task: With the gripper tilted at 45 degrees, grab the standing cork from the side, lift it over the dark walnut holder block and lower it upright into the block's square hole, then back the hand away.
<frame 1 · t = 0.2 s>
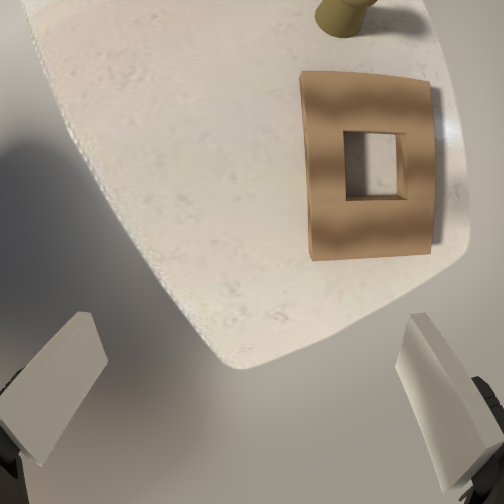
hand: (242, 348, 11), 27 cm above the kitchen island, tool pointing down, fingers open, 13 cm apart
cork: (337, 19, 28), on the kitchen island
walnut holder: (368, 164, 34), on the kitchen island
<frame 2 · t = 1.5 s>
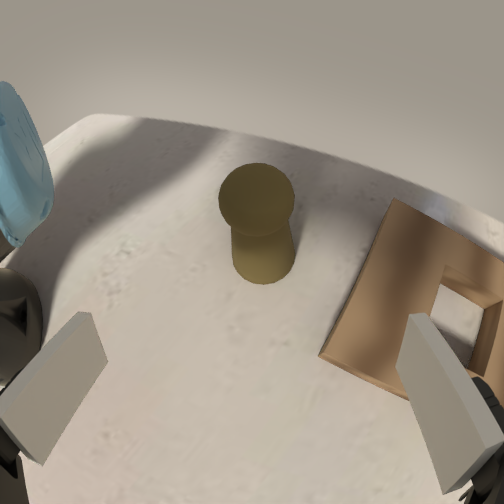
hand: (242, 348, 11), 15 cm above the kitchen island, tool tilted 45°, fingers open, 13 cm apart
cork: (263, 255, 29), on the kitchen island
walnut holder: (448, 328, 24), on the kitchen island
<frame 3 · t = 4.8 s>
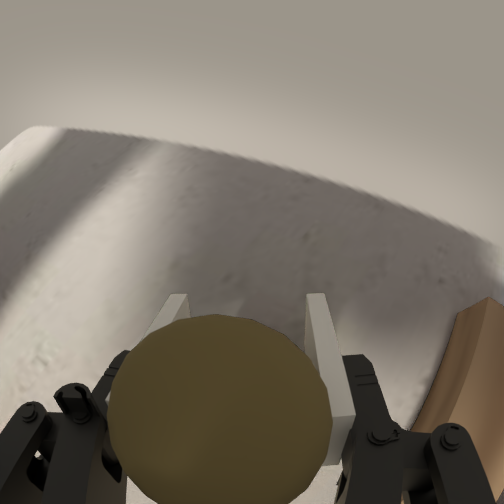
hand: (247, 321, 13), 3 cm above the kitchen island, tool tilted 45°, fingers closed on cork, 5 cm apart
cork: (252, 400, 15), on the kitchen island, touching gripper
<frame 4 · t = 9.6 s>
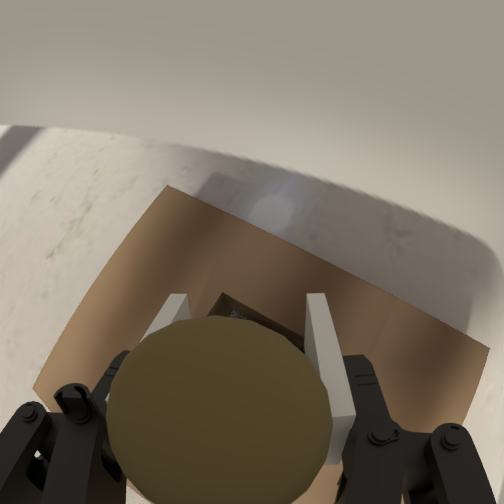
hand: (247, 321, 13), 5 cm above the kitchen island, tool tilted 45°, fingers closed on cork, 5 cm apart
cork: (251, 400, 15), point 1 cm above the kitchen island, touching gripper
walnut holder: (254, 398, 16), on the kitchen island
when the fingers open (5 cm above the kitchen island, at t = 10.1 s): cork drops 2 cm, resting in walnut holder.
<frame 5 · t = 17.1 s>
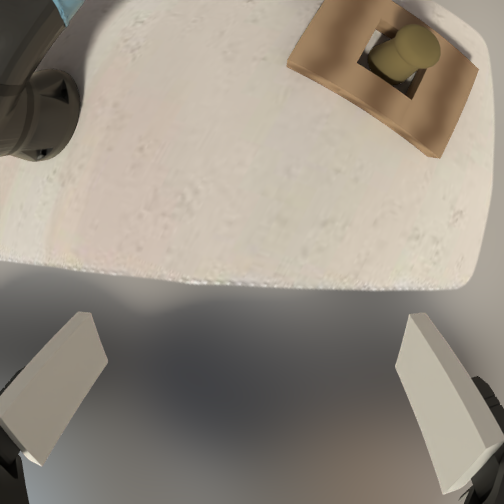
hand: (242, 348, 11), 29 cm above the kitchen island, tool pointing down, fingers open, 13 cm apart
cork: (388, 64, 30), resting in walnut holder
walnut holder: (387, 64, 30), on the kitchen island
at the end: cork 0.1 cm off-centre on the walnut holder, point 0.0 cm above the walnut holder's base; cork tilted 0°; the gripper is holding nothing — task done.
